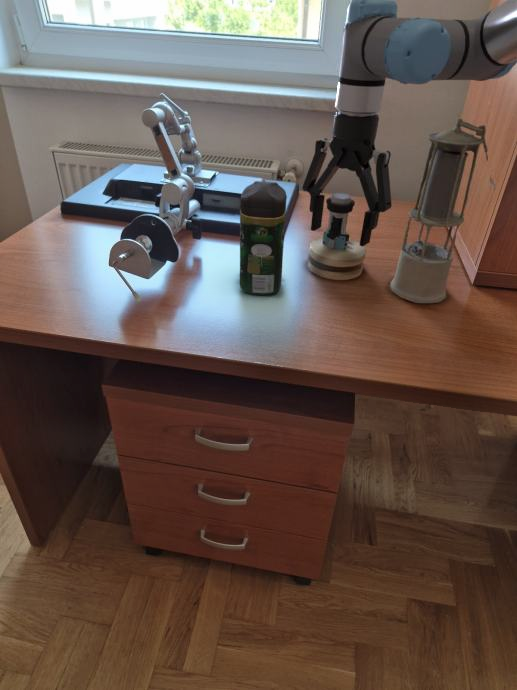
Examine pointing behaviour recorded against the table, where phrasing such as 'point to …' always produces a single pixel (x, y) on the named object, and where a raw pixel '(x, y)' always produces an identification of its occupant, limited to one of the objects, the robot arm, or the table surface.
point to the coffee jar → (262, 237)
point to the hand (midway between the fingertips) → (339, 236)
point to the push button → (338, 221)
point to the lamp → (437, 215)
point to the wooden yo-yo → (336, 260)
